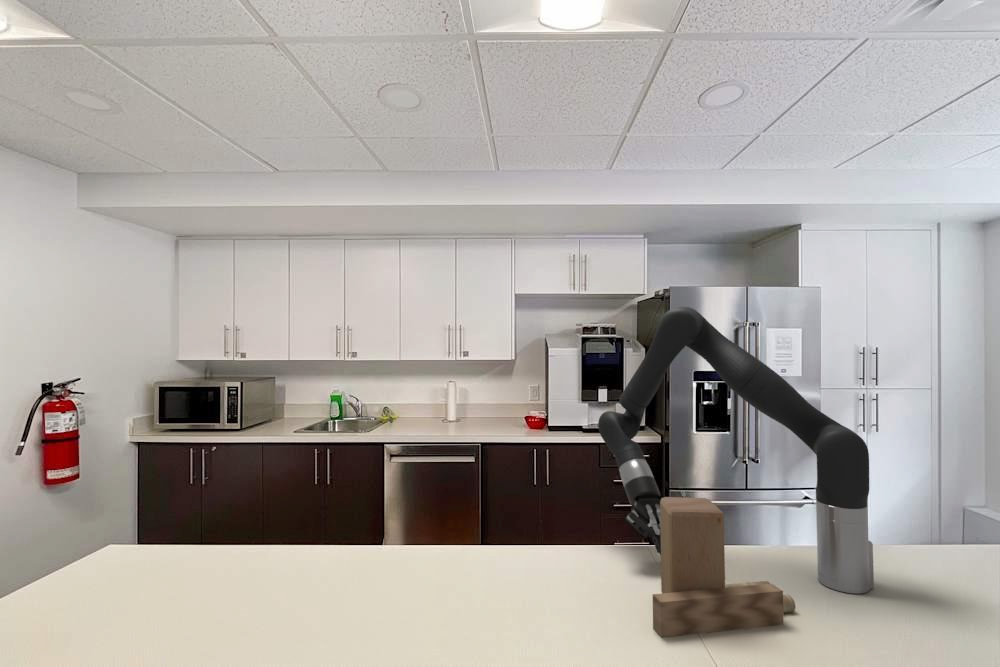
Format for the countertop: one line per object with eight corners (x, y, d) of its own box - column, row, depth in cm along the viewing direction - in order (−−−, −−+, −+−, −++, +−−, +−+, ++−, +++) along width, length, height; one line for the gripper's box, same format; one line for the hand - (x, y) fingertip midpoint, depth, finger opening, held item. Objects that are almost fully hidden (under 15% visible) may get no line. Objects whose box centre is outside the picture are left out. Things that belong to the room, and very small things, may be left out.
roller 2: (784, 607, 101) (784, 591, 101) (795, 614, 98) (795, 598, 98) (737, 611, 99) (737, 595, 99) (748, 619, 96) (747, 603, 96)
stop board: (772, 616, 97) (771, 583, 97) (783, 624, 94) (782, 590, 94) (653, 628, 93) (652, 594, 93) (661, 637, 90) (660, 602, 90)
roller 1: (770, 600, 105) (761, 587, 107) (775, 589, 103) (765, 577, 106) (725, 604, 103) (717, 591, 105) (729, 594, 102) (721, 581, 104)
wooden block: (727, 621, 95) (725, 511, 96) (671, 619, 96) (670, 510, 97) (710, 596, 105) (709, 496, 106) (660, 593, 106) (659, 495, 107)
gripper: (620, 475, 121) (646, 548, 109) (669, 474, 125) (699, 545, 113) (608, 490, 126) (632, 562, 115) (655, 489, 130) (683, 558, 118)
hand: (665, 553), depth 114 cm, fingers closed
